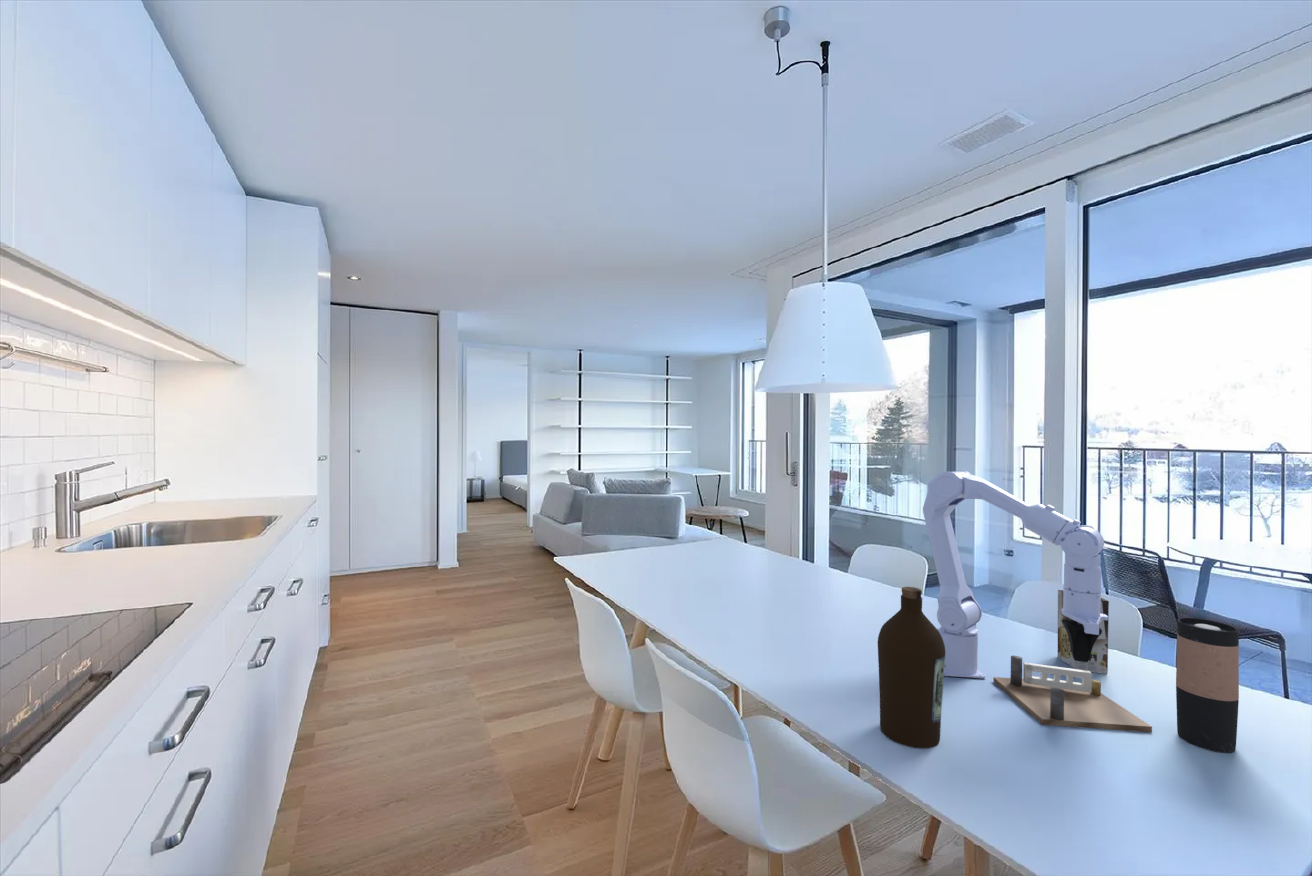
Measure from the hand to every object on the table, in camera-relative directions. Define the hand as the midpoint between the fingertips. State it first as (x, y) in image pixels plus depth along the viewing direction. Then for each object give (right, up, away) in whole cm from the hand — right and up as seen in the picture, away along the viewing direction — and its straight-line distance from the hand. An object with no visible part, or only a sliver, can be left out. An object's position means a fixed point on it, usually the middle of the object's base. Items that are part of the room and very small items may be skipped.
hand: (1080, 660), depth 108 cm
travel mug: (+12, -9, -12) cm, 20 cm away
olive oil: (-38, -8, -11) cm, 41 cm away
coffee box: (+16, -10, +21) cm, 28 cm away
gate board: (-2, -9, +1) cm, 9 cm away
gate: (-1, -7, +5) cm, 9 cm away
